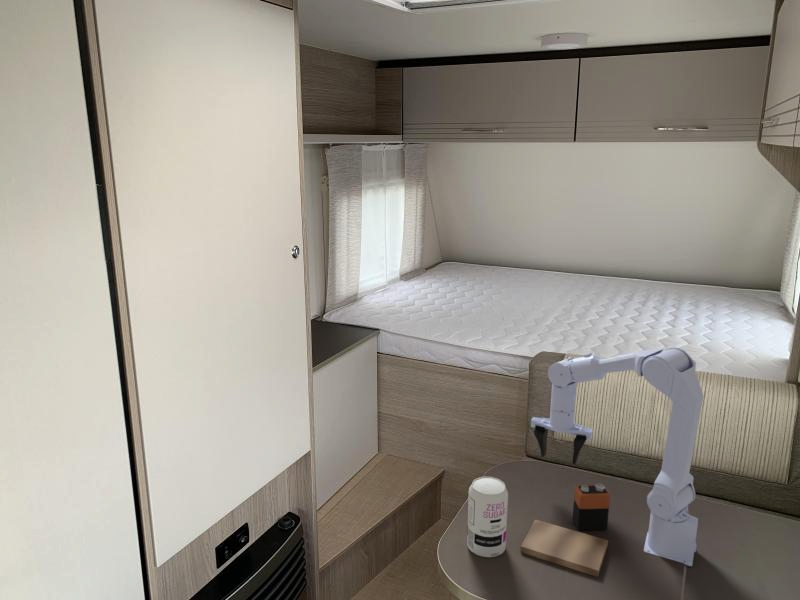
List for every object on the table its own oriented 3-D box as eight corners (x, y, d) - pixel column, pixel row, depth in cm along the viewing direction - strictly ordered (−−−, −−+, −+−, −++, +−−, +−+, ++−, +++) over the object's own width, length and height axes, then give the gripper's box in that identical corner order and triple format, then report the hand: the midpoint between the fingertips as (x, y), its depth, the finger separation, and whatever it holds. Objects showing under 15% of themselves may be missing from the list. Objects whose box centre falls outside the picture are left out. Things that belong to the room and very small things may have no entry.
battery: (607, 530, 133) (611, 491, 131) (578, 531, 133) (581, 491, 131) (600, 519, 137) (603, 480, 135) (571, 520, 137) (574, 481, 135)
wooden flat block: (607, 546, 128) (608, 540, 127) (598, 577, 118) (598, 570, 118) (534, 525, 135) (535, 519, 135) (520, 552, 126) (520, 546, 125)
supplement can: (482, 531, 133) (484, 471, 129) (513, 548, 127) (516, 485, 124) (459, 547, 127) (461, 484, 124) (490, 565, 122) (492, 500, 118)
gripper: (596, 407, 143) (592, 458, 146) (537, 396, 150) (534, 445, 153) (590, 418, 137) (586, 471, 140) (529, 406, 144) (526, 457, 147)
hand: (559, 458), depth 146 cm, fingers open, 7 cm apart
